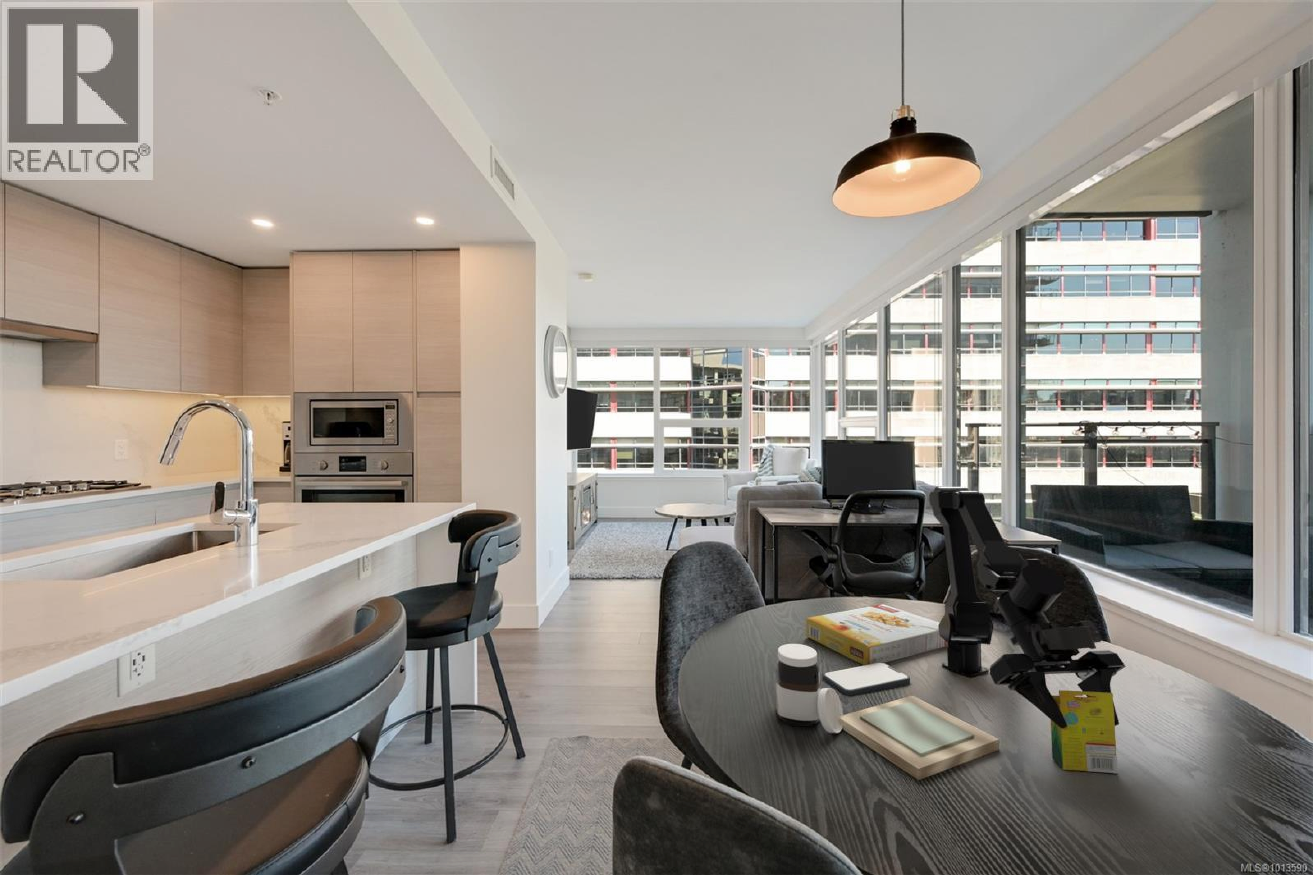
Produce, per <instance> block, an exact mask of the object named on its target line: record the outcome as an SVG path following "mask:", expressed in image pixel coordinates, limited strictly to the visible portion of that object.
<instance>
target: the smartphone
mask: <svg viewBox="0 0 1313 875" xmlns="http://www.w3.org/2000/svg"><path fill="white" fill-rule="evenodd" d="M822 680H823V681H824V682H826V683H827V684H828V685H830V686H832V687H833V688H835V689H836V690H837V691H839V692H840V693H842V694H843V695H845V696H856V695H861V694H866V693H871V692H876V691H881V690H888V689H893V688H897V687H903V686H908V685H911V684H910V683H911V677H910V676H909V675H908V674H906V673H904V672H902V671H900V670H899V669H897V668H894V667H892V666H891V665H889V664H887V663H886V662H885V663H874V664H869V665H863V664H862V665H860V666H853V667H848V668H843V669H839V670H833V671H827V672H824V673H822Z"/></svg>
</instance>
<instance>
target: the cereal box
mask: <svg viewBox="0 0 1313 875" xmlns="http://www.w3.org/2000/svg"><path fill="white" fill-rule="evenodd" d="M805 622H806V623H805V625H806V626H805V627H806V628H805V634H806V638H809V639H811V640H813V641H814V642H817V643H819V644H821V645H822V646H825V647H826V648H829V649H831V650H833V651H834V652H837V653H839V654H840V655H843V656H844V657H847V658H848V659H850V660H852V661H855V662H857V663H859V664H861V665H862V666H863V665H869V664H874V663H885V664H886V663H889V662H892V661H895V660H900V659H903V658H907V657H910V656H915V655H918V654H921V653H925V652H929V651H933V650H937V649H940V648H944V647H948V643H947V642H946V641H945V640H944V639H943V638H942V637H941V636H940V635H939V629H938V625H939V623H940V621H939V622H938V621H935V620H932V619H929V618H925V617H923V616H920V615H917V614H914V613H910V612H907V611H905V610H902V609H899V608H896V607H892V606H890V605H887V604H884V603H883V604H878V605H877V604H876V605H873V606H872V605H871V606H866V607H861V608H855V609H850V610H849V609H848V610H845V611H844V610H843V611H838V612H833V613H827V614H822V615H815V616H810V617H806V621H805Z"/></svg>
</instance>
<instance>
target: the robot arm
mask: <svg viewBox="0 0 1313 875" xmlns="http://www.w3.org/2000/svg"><path fill="white" fill-rule="evenodd" d="M928 496H929V497H928V501H929V505H930V506H931V508H932V513H933V516H934V518H936V520H937V521H938V522H939V524H940V525H941V526H942V527H943V528H942V529H943V530H942V531H943V536H944V544H945V551H946V560H947V561H946V562H947V568H948V575H949V584H950V592H951V593H950V595H949V597H948V598H947V601H946V603H945V604H944V615H943V616H942V618H941V619H940V621H939V625H938V629H939V635H940V636H941V637H942V638H943V639H944V640H945V641H946V642H947V643H948V646H947V648H946V653H947V655H946V656H947V661H946V662H945V661H944V662H942V663H941V667H943V668H946V669H949V670H951V671H953V672H955V673H959V674H961V675H963V676H965V677H968V678H971V677H974V676H979V675H983V674H986V673H989V675H990V677H991V678H992V681H993V683H994V685H996V686H1007V688H1008V689H1009V690H1010V691H1015V692H1016V693H1018V694H1019V695H1020V696H1021V697H1023V698H1024V699H1025V700H1027V701H1028V702H1029V703H1031V705H1033V706H1034V707H1036V708H1037V709H1038V710H1039V711H1041V713H1043V715H1045V716H1046V717H1047V718H1048V719H1050V721H1051V720H1052V721H1053V722H1054V723H1055V724H1057V725H1058V726H1059V727H1060V728H1062V729H1064V728H1066V727H1067V723H1066V721H1065V719H1064V717H1063V715H1062V713H1061V711H1060V709H1059V708H1058V706H1057V704H1056V702H1055V700H1054V699H1053V697H1052V694H1051V692H1050V690H1049V689H1048V687H1047V681H1046V679H1047V678H1046V675H1061V674H1075V676H1076V677H1077V678H1079V679H1080V680H1081V681H1080V682H1079V683H1077V686H1078V688H1079V689H1080V690H1081V691H1086V692H1105V693H1112V687H1111V682H1112V678H1113V677H1114V676H1115V675H1117V674H1118V673H1119V672H1120V671H1121V670H1122V669H1125V668H1126V664H1125V663H1124V662H1123V660H1122V659H1121V658H1120V656H1119V654H1118V653H1116V652H1114V651H1111V650H1109V649H1108V650H1106V649H1104V650H1097V646H1096V643H1101V642H1102V635H1101V633H1100V631H1099V629H1098V628H1097V626H1095V624H1094V623H1093V622H1092V620H1080V621H1074V622H1073V626H1064V627H1063V626H1062V627H1061V626H1060V625H1059V624H1058V623H1057V622H1049V620H1048V618H1047V617H1046V615H1045V614H1044V612H1045V611H1047V610H1048V609H1049V608H1050V607H1051V605H1053V604H1054V602H1055V601H1056V600H1057V599H1058V597H1060V595H1061V594H1062V593H1063V592H1064V590H1065V581H1064V579H1063V577H1062V576H1061V575H1059V574H1058V572H1056V571H1055V570H1054V569H1052V568H1050V567H1049V566H1046V565H1043V564H1042V563H1041V561H1040V560H1041V559H1039V558H1026V559H1024V558H1023V557H1022V554H1020V552H1018V551H1016V549H1015V550H1014V549H1013V548H1012V547H1011V546H1009V545H1007V543H1006V542H1005V540H1004V538H1003V537H1002V534H1001V533H1000V530H999V528H998V526H997V525H996V522H995V520H994V519H993V517H992V515H991V514H990V511H989V509H988V506H987V505H986V500H985V499H986V498H985V495H984V494H983V492H981V491H978V490H969V488H968V487H966V486H935V488H934V489H933V491H930V493H929V495H928ZM970 538H971V540H972V542H973V544H974V547H975V549H976V552H977V553H978V556H979V558H978V560H977V563H976V570H977V576H978V580H979V582H980V583H981V584H982V585H983V587H984V588H985V589H986V590H989V591H991V592H1002V594H1001V595H1000V596H999V597H997V596H996V597H995V598H994V599H995V602H994V605H993V612H994V614H1001V615H1002V617H1003V619H1004V621H1005V623H1006V624H1007V625H1008V627H1009V629H1010V631H1011V633H1012V634H1013V637H1011V638H1010V641H1011V643H1012V645H1013V646H1020V648H1021V650H1022V653H1006V654H1005V653H1004V654H1002V655H1001V656H1000V657H999V658H998V659H997V660H995V661H994V662H993V663H991V665H990V666H989V668H987V667H985V666H982V645H987V646H989V645H991V642H992V636H993V633H994V632H993V631H994V623H993V619H992V618H991V615H990V607H989V605H988V603H987V602H984V601H983V600H982V599H981V597H980V596H979V595H978V592H977V586H976V578H975V571H974V565H973V564H974V563H973V558H972V550H971V549H972V548H971V542H970ZM1080 649H1091V650H1089V651H1087V652H1086V653H1084V654H1082V656H1080V657H1078V659H1073V658H1072V657H1075V656H1077V655H1079V654H1080V653H1081V652H1080V651H1079V650H1080ZM1094 649H1096V650H1094ZM1085 697H1092V696H1088V695H1085ZM1093 697H1094V696H1093ZM1113 706H1114V720H1115V727H1116V726H1119V724H1120V722H1119V718H1118V714H1117V709H1116V707H1115V706H1116V705H1115V702H1114V701H1113Z"/></svg>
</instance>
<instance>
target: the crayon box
mask: <svg viewBox="0 0 1313 875" xmlns="http://www.w3.org/2000/svg"><path fill="white" fill-rule="evenodd" d="M1051 695H1052V694H1051ZM1084 695H1085V696H1084ZM1086 695H1088V696H1092V697H1087V696H1086ZM1093 696H1094V697H1093ZM1052 697H1053V699H1054V700H1055V702H1056V704H1057V706H1058V708H1059V709H1060V711H1061V713H1062V715H1063V717H1064V719H1065V721H1066V723H1067V727H1066V728H1064V729H1062V728H1060V727H1059V726H1058V725H1057V724H1055V723H1054V722H1053V721H1052V720H1051V719H1050V733H1051V734H1050V735H1051V757H1052V761H1054V762H1055V763H1056V764H1057V765H1058V766H1059V767H1060V768H1061V769H1062V770H1063V771H1081V772H1082V771H1083V772H1094V773H1110V774H1113V775H1118V757H1117V756H1118V755H1117V741H1116V728H1115V727H1116V726H1115V720H1114V706H1115V705H1114V706H1113V702H1114V695H1113V692H1111V693H1105V692H1086V691H1082V690H1081V691H1080V690H1061V689H1060V690H1058V695H1052Z"/></svg>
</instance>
